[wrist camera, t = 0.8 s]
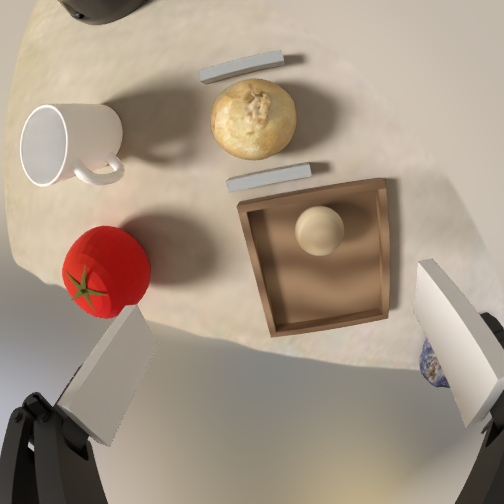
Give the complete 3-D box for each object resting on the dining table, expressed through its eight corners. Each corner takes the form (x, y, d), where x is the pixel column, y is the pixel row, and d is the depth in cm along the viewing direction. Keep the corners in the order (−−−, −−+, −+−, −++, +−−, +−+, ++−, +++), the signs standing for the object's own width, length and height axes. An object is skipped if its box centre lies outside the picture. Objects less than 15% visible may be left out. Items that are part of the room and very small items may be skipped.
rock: (416, 383, 36) (448, 403, 26) (411, 328, 37) (447, 339, 27) (460, 359, 36) (494, 371, 26) (457, 307, 37) (494, 311, 27)
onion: (295, 157, 27) (299, 165, 21) (220, 158, 28) (201, 167, 22) (294, 84, 24) (297, 68, 17) (217, 87, 25) (197, 74, 18)
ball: (290, 204, 29) (291, 219, 24) (336, 197, 28) (345, 209, 23) (298, 247, 31) (300, 268, 26) (341, 240, 30) (351, 259, 25)
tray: (239, 201, 30) (236, 206, 28) (379, 177, 27) (385, 180, 25) (271, 328, 36) (271, 337, 35) (384, 309, 33) (388, 318, 32)
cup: (95, 93, 25) (38, 90, 16) (158, 144, 28) (106, 153, 19) (68, 146, 29) (12, 159, 19) (123, 198, 31) (71, 226, 22)
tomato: (148, 300, 37) (113, 350, 27) (91, 263, 36) (46, 302, 26) (173, 242, 33) (132, 288, 23) (107, 202, 31) (51, 232, 22)
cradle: (203, 74, 24) (197, 71, 22) (281, 55, 22) (281, 50, 21) (232, 188, 29) (228, 192, 27) (309, 173, 27) (311, 176, 26)
